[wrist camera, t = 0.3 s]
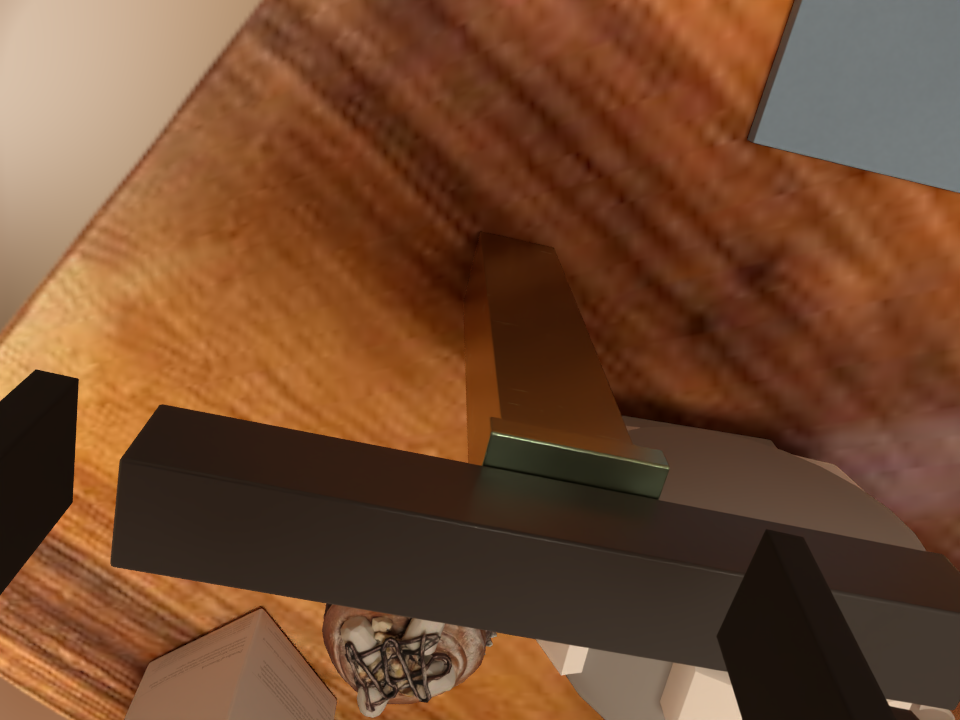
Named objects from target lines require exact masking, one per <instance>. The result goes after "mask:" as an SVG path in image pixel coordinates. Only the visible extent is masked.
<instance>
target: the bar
mask: <svg viewBox="0 0 960 720" xmlns="http://www.w3.org/2000/svg"><path fill="white" fill-rule="evenodd" d="M766 529H769V530H773V531H778V532H782V533H787V534H792V535H796V536H801V537H804V539H805V541H806V543H807V545H808V547H809V549H810V551H811V553H812V555H813V557H814V559H815V561H816V563H817V565H818V567H819V569H820V571H821V572H822V574H823V576H824V578H825V580H826V582H827V584H828V586H829V588H830V590H831V592H832V594H833V596H834V598H835V600H836V602H837V604H838V606H839V608H840V610H841V612H842V614H843V616H844V618H845V620H846V622H847V624H848V626H849V627H850V629H851V631H852V633H853V635H854V637H855V639H856V641H857V643H858V645H859V647H860V649H861V651H862V653H863V655H864V657H865V659H866V661H867V663H868V665H869V667H870V669H871V671H872V673H873V675H874V677H875V679H876V681H877V682H878V684H879V686H880V688H881V690H882V692H883V694H884V696H885V698H886V699H889V700H895V701H900V702H906V703H912V704H918V705H924V706H930V707H936V708H941V709H947V710H954V709H955V708H956V707H957V705H958V703H959V701H960V573H959V572H958V570H957V569H956V568H955V567H954V566H953V565H952V564H951V562H950V561H949V560H948V559H947V558H946V557H945V556H944V555H942V554H937V553H932V552H927V551H922V550H917V549H912V548H906V547H901V546H896V545H891V544H886V543H880V542H875V541H870V540H865V539H860V538H854V537H849V536H844V535H839V534H834V533H828V532H823V531H818V530H813V529H808V528H802V527H797V526H792V525H787V524H782V523H776V522H771V521H766V520H761V519H756V518H750V517H745V516H740V515H735V514H730V513H724V512H719V511H714V510H709V509H704V508H698V507H693V506H688V505H683V504H678V503H672V502H667V501H662V500H657V499H652V498H646V497H641V496H636V495H631V494H626V493H620V492H615V491H610V490H605V489H600V488H595V487H589V486H584V485H579V484H574V483H569V482H563V481H558V480H553V479H548V478H543V477H537V476H532V475H527V474H522V473H517V472H511V471H506V470H501V469H496V468H491V467H485V466H480V465H475V464H470V463H465V462H459V461H454V460H449V459H444V458H439V457H433V456H428V455H423V454H418V453H413V452H407V451H402V450H397V449H392V448H387V447H381V446H376V445H371V444H366V443H361V442H355V441H350V440H345V439H340V438H335V437H329V436H324V435H319V434H314V433H309V432H303V431H298V430H293V429H288V428H283V427H277V426H272V425H267V424H262V423H257V422H252V421H246V420H241V419H236V418H231V417H226V416H220V415H215V414H210V413H205V412H200V411H194V410H189V409H184V408H179V407H174V406H168V405H159V407H158V408H157V409H156V411H155V412H154V414H153V415H152V416H151V418H150V419H149V420H148V422H147V423H146V425H145V426H144V427H143V429H142V430H141V432H140V433H139V434H138V436H137V437H136V438H135V440H134V441H133V443H132V444H131V445H130V447H129V448H128V450H127V451H126V452H125V454H124V455H123V456H122V458H121V459H120V463H119V474H118V485H117V496H116V507H115V518H114V529H113V540H112V551H111V566H113V567H117V568H123V569H129V570H135V571H141V572H147V573H152V574H158V575H164V576H170V577H176V578H182V579H187V580H193V581H199V582H205V583H211V584H217V585H223V586H228V587H234V588H240V589H246V590H252V591H258V592H263V593H269V594H275V595H281V596H287V597H293V598H298V599H304V600H310V601H316V602H322V603H328V604H334V605H339V606H345V607H351V608H357V609H363V610H369V611H374V612H380V613H386V614H392V615H398V616H404V617H410V618H415V619H421V620H427V621H433V622H439V623H445V624H450V625H456V626H462V627H468V628H474V629H480V630H486V631H491V632H497V633H503V634H509V635H515V636H521V637H526V638H532V639H538V640H544V641H550V642H556V643H561V644H567V645H573V646H579V647H585V648H591V649H597V650H602V651H608V652H614V653H620V654H626V655H632V656H637V657H643V658H649V659H655V660H661V661H667V662H673V663H678V664H684V665H690V666H696V667H702V668H708V669H713V670H719V671H725V672H727V669H726V665H725V662H724V659H723V656H722V652H721V649H720V646H719V643H718V640H717V634H718V632H719V629H720V627H721V625H722V623H723V621H724V619H725V616H726V614H727V612H728V610H729V608H730V606H731V603H732V601H733V599H734V597H735V595H736V593H737V590H738V588H739V586H740V584H741V582H742V580H743V577H744V575H745V573H746V571H747V569H748V567H749V564H750V562H751V560H752V558H753V556H754V554H755V551H756V549H757V547H758V545H759V543H760V541H761V538H762V536H763V534H764V532H765V530H766Z"/></svg>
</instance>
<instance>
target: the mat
mask: <svg viewBox="0 0 960 720" xmlns="http://www.w3.org/2000/svg"><path fill="white" fill-rule="evenodd" d="M748 140H749V141H751V142H753V143H756V144H760V145H764V146H768V147H773V148H777V149H781V150H785V151H789V152H793V153H797V154H801V155H805V156H810V157H814V158H818V159H822V160H826V161H830V162H834V163H838V164H842V165H847V166H851V167H855V168H859V169H863V170H867V171H871V172H875V173H880V174H884V175H888V176H892V177H896V178H900V179H904V180H908V181H912V182H917V183H921V184H925V185H929V186H933V187H937V188H941V189H945V190H949V191H954V192H958V193H960V0H795V1H794V4H793V7H792V10H791V13H790V16H789V19H788V22H787V25H786V28H785V30H784V33H783V36H782V39H781V42H780V45H779V48H778V51H777V54H776V57H775V60H774V63H773V66H772V69H771V72H770V75H769V77H768V80H767V83H766V86H765V89H764V92H763V95H762V98H761V101H760V104H759V107H758V110H757V113H756V116H755V119H754V122H753V124H752V127H751V130H750V133H749V136H748Z"/></svg>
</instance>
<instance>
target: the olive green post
mask: <svg viewBox="0 0 960 720" xmlns="http://www.w3.org/2000/svg"><path fill="white" fill-rule="evenodd" d="M463 310H464V343H465V375H466V407H467V439H468V463H470V464H475V465H480V466H485V467H491V468H496V469H501V470H506V471H511V472H517V473H522V474H527V475H532V476H537V477H543V478H548V479H553V480H558V481H563V482H569V483H574V484H579V485H584V486H589V487H595V488H600V489H605V490H610V491H615V492H620V493H626V494H631V495H636V496H641V497H646V498H652V499H657V500H659V498H660V495H661V492H662V489H663V486H664V484H665V481H666V478H667V475H668V472H669V470H670V466H669V464H668V462H667V459H666V457H665V455H664V453H663V451H661V450H657V449H652V448H647V447H642V446H637V445H633V443H632V440H631V438H630V435H629V433H628V430H627V428H626V425H625V423H624V420H623V418H622V415H621V413H620V410H619V408H618V405H617V403H616V400H615V398H614V395H613V393H612V390H611V388H610V385H609V383H608V381H607V378H606V376H605V373H604V371H603V368H602V366H601V363H600V361H599V358H598V356H597V353H596V351H595V348H594V346H593V343H592V341H591V338H590V336H589V333H588V331H587V328H586V326H585V323H584V321H583V318H582V316H581V313H580V311H579V308H578V306H577V303H576V301H575V298H574V296H573V293H572V291H571V288H570V286H569V283H568V281H567V278H566V276H565V274H564V271H563V269H562V266H561V264H560V261H559V259H558V256H557V254H556V251H555V249H554V248H553V247H549V246H544V245H540V244H535V243H531V242H526V241H522V240H517V239H513V238H508V237H504V236H499V235H495V234H491V233H486V232H482V231H481V232H480V234H479V238H478V242H477V246H476V250H475V255H474V259H473V263H472V267H471V271H470V276H469V280H468V284H467V288H466V292H465V297H464V301H463Z"/></svg>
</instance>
